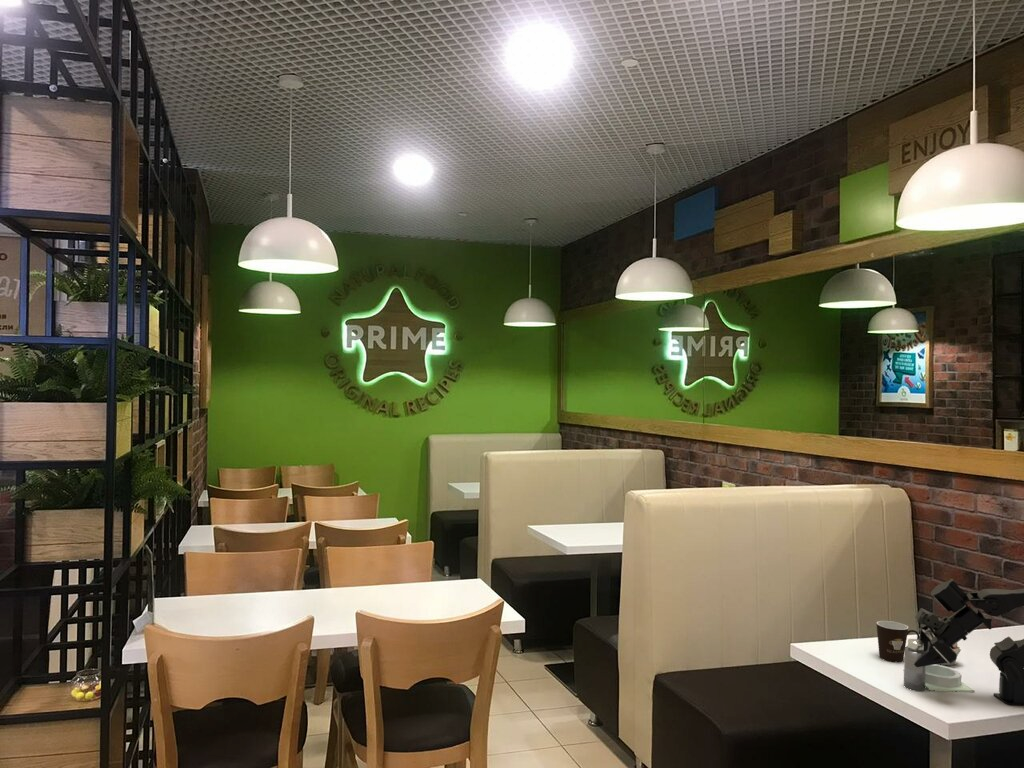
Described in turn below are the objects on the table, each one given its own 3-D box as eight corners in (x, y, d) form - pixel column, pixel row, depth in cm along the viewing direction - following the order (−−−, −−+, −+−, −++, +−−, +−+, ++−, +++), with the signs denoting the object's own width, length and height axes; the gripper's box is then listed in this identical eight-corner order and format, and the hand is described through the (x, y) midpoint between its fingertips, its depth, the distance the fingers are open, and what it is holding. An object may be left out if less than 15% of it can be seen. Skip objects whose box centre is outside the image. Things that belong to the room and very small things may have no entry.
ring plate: (974, 692, 207) (974, 681, 207) (929, 690, 207) (929, 679, 207) (945, 672, 221) (945, 662, 221) (903, 671, 221) (903, 660, 221)
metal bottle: (929, 691, 206) (930, 644, 206) (909, 690, 206) (911, 644, 206) (919, 684, 212) (920, 638, 212) (899, 683, 212) (901, 637, 212)
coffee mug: (874, 660, 230) (875, 626, 230) (876, 651, 237) (877, 619, 237) (918, 667, 224) (919, 633, 224) (918, 659, 232) (919, 625, 232)
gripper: (930, 592, 216) (885, 626, 220) (944, 609, 199) (895, 646, 202) (960, 624, 214) (914, 658, 217) (977, 644, 196) (927, 681, 200)
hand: (912, 660), depth 209 cm, fingers open, 9 cm apart
